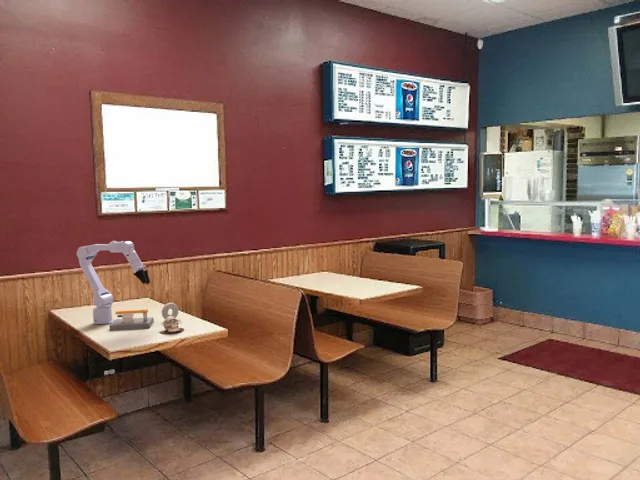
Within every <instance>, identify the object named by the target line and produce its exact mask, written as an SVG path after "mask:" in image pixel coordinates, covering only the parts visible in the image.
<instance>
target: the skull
mask: <svg viewBox="0 0 640 480" xmlns="http://www.w3.org/2000/svg"><path fill="white" fill-rule="evenodd" d="M162 323H163V324H162V325H163V328H164V330H160V331H159V333H160V334H172V333H179V332H182V331H184V330H185V329H184V328H182V327H179V321H178V320H177V317H176V318H175V317H173V316H169V317H167V318H166V319H164V320H163V322H162Z"/></svg>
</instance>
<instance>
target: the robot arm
mask: <svg viewBox="0 0 640 480" xmlns="http://www.w3.org/2000/svg"><path fill="white" fill-rule="evenodd" d="M100 251H109V253H121V254H123V256H124V257H125V258H126V260H127V261H128V263H129V265H130V267H131V269H132V270H133V276H135V277H136V278H138V280H139V281H140V282H141V284H143V285H144V284H146V285H149V284H150V283H151V280H150V276H149V270H148V269H146V270H145V268H146V267H147V265H146V264H143V263H142V261H141V259H140V257H139V255H138V254H137V252H136V249H135V244H134V242H132V241H130V240H127V241H124V240H121V241H117V240H112V241H110V242H109V243H108V244H107V243H106V244H105V243H103V244H102V243H96V244H89V245H84V246H79V247H78V248H77V251H76V256H77V258H78V262H79V266H80V268H81V270H82V272H83V274H84V276H85V278H86V279H87V281H88V283H89V285H90V287H91V289H92V291H93V295H92V298H93V303H94V305H95V306H94V307H93V310H92V318H93V325H104V324H105V325H106V324H112V323H113V322H114V321H115V319H113V311H112V309H113V308H112V305H113V303H114V300H115V298H114V296H113V294H112V293H111V292H110V291H109V290H108V289H107V288H105V287H104V285H103V283H102V282H101V279H100V278H99V275H98V274H97V272H96V271H95V269H94V266H93V265H92V262H93V260H94V259H95V257H96V256H97V255H98V253H99V252H100Z"/></svg>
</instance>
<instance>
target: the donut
mask: <svg viewBox="0 0 640 480" xmlns="http://www.w3.org/2000/svg"><path fill="white" fill-rule="evenodd" d="M169 310H171V311H172V312H171V314H169ZM179 312H180V311H179V307H178V305H177V304H176V303H174V302H168V303H166V304H165V305H163V306H162V309H161V317H162V318H163V319H164V320H165V319H166V318H167V317H169V316H173V317H175V318H176V319H177V317H178V315H179Z"/></svg>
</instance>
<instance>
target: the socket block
mask: <svg viewBox="0 0 640 480" xmlns="http://www.w3.org/2000/svg"><path fill="white" fill-rule="evenodd" d="M142 315H143V317H138V318H135V317H133V323H123V318H117V319H114V321H113V322H112V323H110V324H109V331H120V330H121V331H122V330H139V329H141V330H142V329H149V328H150V327H151V326H152V325H153V324H154V322H155V321H154V317H152V316H151V317H148V312H147V313H142Z"/></svg>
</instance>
